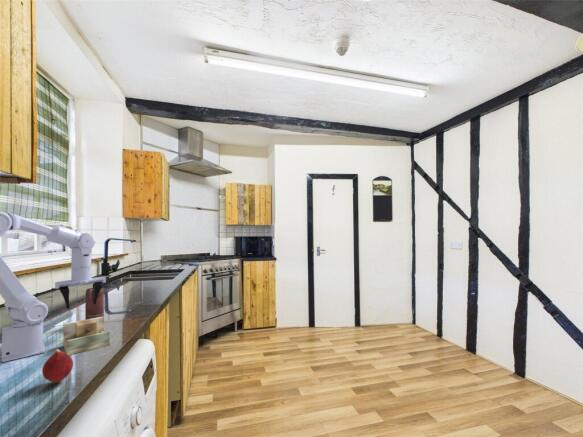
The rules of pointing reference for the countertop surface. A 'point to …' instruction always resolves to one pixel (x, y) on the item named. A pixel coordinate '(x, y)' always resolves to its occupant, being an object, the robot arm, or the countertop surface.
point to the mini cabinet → (85, 328)
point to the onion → (57, 367)
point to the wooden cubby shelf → (84, 338)
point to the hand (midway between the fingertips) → (81, 305)
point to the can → (91, 308)
